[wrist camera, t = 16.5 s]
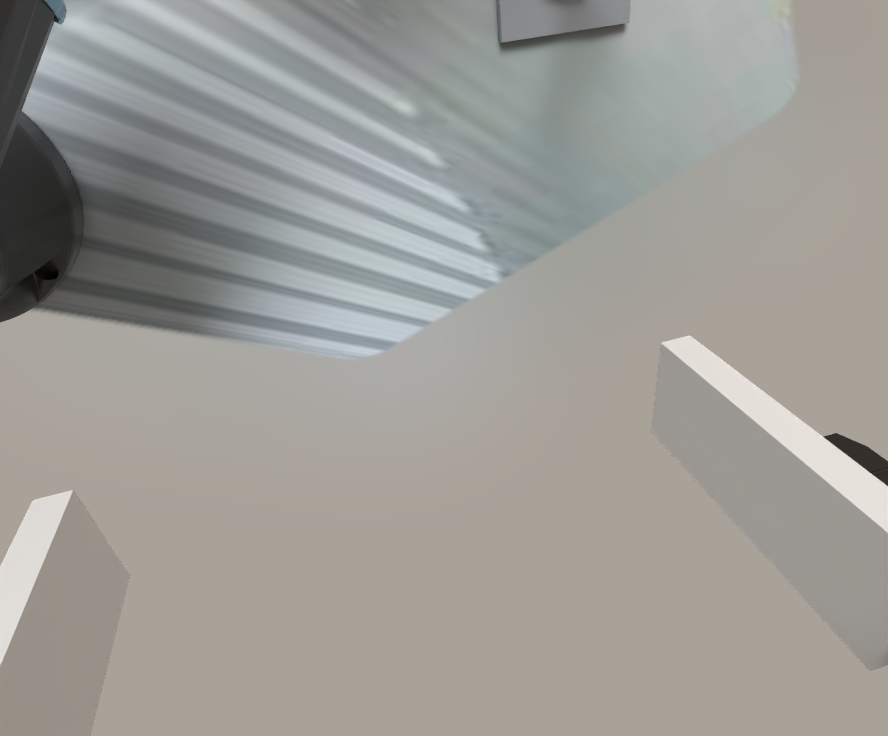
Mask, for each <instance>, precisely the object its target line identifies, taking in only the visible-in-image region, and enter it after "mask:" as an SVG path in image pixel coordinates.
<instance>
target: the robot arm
mask: <svg viewBox="0 0 888 736" xmlns="http://www.w3.org/2000/svg"><path fill="white" fill-rule="evenodd" d="M65 17H66V7H65V3H64V1H63V0H0V322H2V321H6V320H9V319H11V318H14V317H16V316H19V315H21V314H23V313H25V312H27V311H28V310H30V309H32V308H33V307H35V306H37V305H38V304H39V303H41V302H42V301H43V300H45V299H46V298H47V297H48V296H49V295H50V294H51V293H52V292H53V291H54V290H55V289H56V288H57V286H58V285H59V284H60V283H61V281H62V280H63V279H64V278H65V276H66V275H67V274H68V272H69V271H70V269H71V268H72V266H73V264H74V262H75V260H76V258H77V256H78V253H79V250H80V246H81V242H82V236H83V212H82V206H81V201H80V197H79V193H78V190H77V188H76V185H75V182H74V180H73V177H72V175H71V173H70V171H69V169H68V167H67V165H66V164H65V162H64V160H63V159H62V157H61V155H60V154H59V152H58V151H57V149H56V148H55V147H54V145H53V144H52V143H51V141H50V140H49V139H48V138H47V136H46V135H45V134H44V133H43V132H42V131H41V130H40V128H39V127H38V126H37V125H36V124H35V123H34V122H33V121H32V120H31V119H30V118H29V117H27V116H26V115H25V114H24V113H23V112H22V108H23V105H24V103H25V100H26V97H27V94H28V92H29V89H30V86H31V84H32V81H33V78H34V75H35V73H36V70H37V67H38V64H39V62H40V59H41V56H42V53H43V51H44V48H45V45H46V43H47V40H48V37H49V34H50V32H51V29H52V26H53V23H54V21H55V22H57V23H58V24H62V23H63V22H64V19H65ZM651 433H652V434H653V435H654V436H655V437H656V438H657V439H658V440H659V441H660V443H661V444H662V445H663V446H664V447H665V448H666V449H667V450H668V451H669V452H670V453H671V454H672V456H673V457H675V459H676V460H677V461H678V462H679V463H680V464H681V465H682V466H683V468H684V469H685V470H686V471H687V472H688V473H689V474H690V475H691V476H692V477H693V479H695V481H696V482H697V483H698V484H699V485H700V486H701V487H702V488H703V489H704V491H706V493H707V494H708V495H709V496H710V497H711V498H712V499H713V500H714V501H715V503H716V504H717V505H718V506H719V507H720V508H721V509H722V510H723V511H724V512H725V514H726V515H727V516H728V517H729V518H730V519H731V520H732V521H733V522H734V523H735V524H736V526H737V527H738V528H739V529H740V530H741V531H742V532H743V533H744V534H745V535H746V536H747V538H748V539H749V540H750V541H751V542H752V543H753V544H754V545H755V546H756V547H757V548H758V550H759V551H760V552H761V553H762V554H763V555H764V556H765V557H766V558H767V559H768V561H769V562H770V563H771V564H772V565H773V566H774V567H775V568H776V569H777V570H778V572H779V573H780V574H781V575H782V576H783V577H784V578H785V579H786V580H787V581H788V582H789V584H790V585H791V586H792V587H793V588H794V589H795V590H796V591H797V592H798V593H799V594H800V595H801V597H802V598H803V599H804V600H805V601H806V602H807V603H808V604H809V605H810V606H811V608H812V609H813V610H814V611H815V612H816V613H817V614H818V615H819V616H820V617H821V618H822V620H823V621H824V622H825V623H826V624H827V625H828V626H829V627H830V628H831V629H832V631H833V632H834V633H835V634H836V635H837V636H838V637H839V638H840V639H841V640H842V641H843V642H844V644H845V645H846V646H847V647H848V648H849V649H850V650H851V651H852V652H853V653H854V654H855V656H856V657H857V658H858V659H859V660H860V661H861V662H862V663H863V664H864V665H865V666H866V668H867V669H868V670H869V671H873V670H875V669H878V668H881V667H883V666H886V665H888V461H887V460H885V459H884V458H882V457H881V456H879V455H878V454H877V453H875V452H874V451H873V450H871V449H870V448H869V447H867V446H865V445H862V444H860V443H858V442H855V441H853V440H851V439H848V438H846V437H844V436H841V435H839V434H837V433H835V434H832V435H828V436H825V437H822V436H821V435H820V434H818V433H817V432H816V431H815V430H813V429H812V428H811V427H809V426H808V425H807V424H805V423H804V422H803V421H801V420H800V419H799V418H797V417H796V416H795V415H794V414H792V413H791V412H789V411H788V410H787V409H786V408H784V407H783V406H782V405H780V404H779V403H778V402H776V401H775V400H774V399H773V398H771V397H770V396H769V395H767V394H766V393H765V392H763V391H762V390H761V389H759V388H758V387H757V386H755V385H754V384H753V383H752V382H750V381H749V380H748V379H746V378H745V377H744V376H742V375H741V374H740V373H738V372H737V371H736V370H734V369H733V368H732V367H731V366H729V365H728V364H727V363H725V362H724V361H722V360H721V359H720V358H719V357H717V356H716V355H714V354H713V353H712V352H711V351H709V350H708V349H707V348H706V347H704V346H703V345H702V344H700V343H699V342H698V341H696V340H695V339H694V338H692V337H691V336H686V337H682V338H678V339H674V340H670V341H666V342H662V343H661V346H660V355H659V364H658V373H657V383H656V392H655V401H654V410H653V419H652V428H651ZM129 578H130V574H129V573H128V571H127V570H126V568H125V567H124V565H123V564H122V562H121V561H120V559H119V558H118V556H117V555H116V553H115V552H114V550H113V549H112V547H111V546H110V544H109V543H108V541H107V540H106V538H105V537H104V535H103V534H102V532H101V531H100V529H99V528H98V526H97V525H96V524H95V522H94V520H93V519H92V517H91V516H90V514H89V513H88V511H87V510H86V508H85V507H84V505H83V504H82V502H81V501H80V499H79V498H78V496H77V495H76V493H75V492H74V490H70V491H66V492H63V493H58V494H55V495H50V496H46V497H43V498H39V499H35V500H32V503H31V504H30V507H29V509H28V511H27V513H26V515H25V517H24V519H23V521H22V523H21V525H20V527H19V529H18V531H17V533H16V535H15V537H14V539H13V541H12V543H11V545H10V547H9V549H8V551H7V554H6V556H5V558H4V560H3V562H2V564H1V566H0V736H90V735H91V731H92V727H93V723H94V719H95V715H96V711H97V707H98V703H99V699H100V695H101V691H102V686H103V683H104V679H105V675H106V671H107V667H108V663H109V659H110V655H111V651H112V647H113V643H114V639H115V635H116V631H117V627H118V623H119V619H120V615H121V611H122V606H123V603H124V599H125V595H126V591H127V587H128V583H129Z"/></svg>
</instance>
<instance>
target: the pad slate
mask: <svg viewBox="0 0 888 736" xmlns="http://www.w3.org/2000/svg"><path fill="white" fill-rule="evenodd" d="M629 14H630V0H497V16H498V35H499V42H508V41H515V40H521V39H528V38H534V37H541V36H547V35H554V34H560V33H566V32H573V31H579V30H586V29H592V28H599V27H605V26H611V25H618V24H624V23H629Z"/></svg>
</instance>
